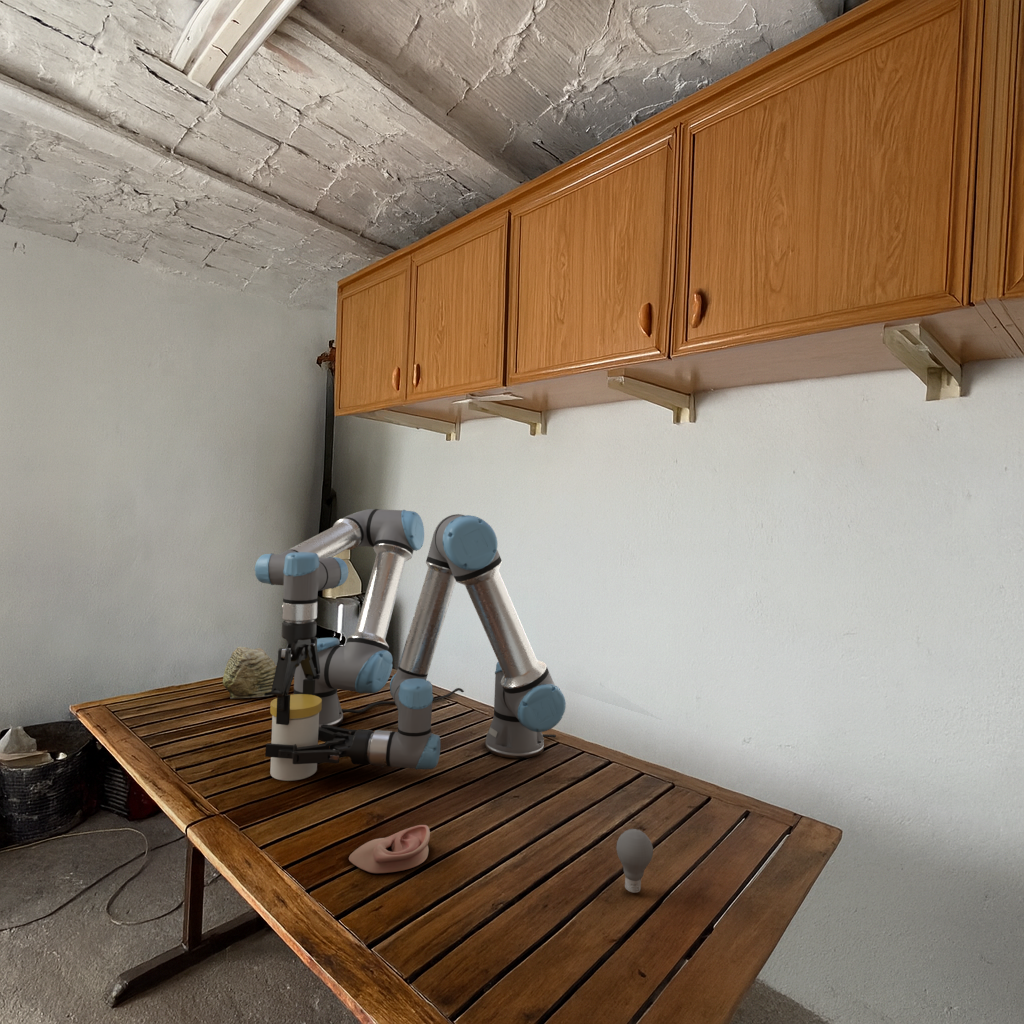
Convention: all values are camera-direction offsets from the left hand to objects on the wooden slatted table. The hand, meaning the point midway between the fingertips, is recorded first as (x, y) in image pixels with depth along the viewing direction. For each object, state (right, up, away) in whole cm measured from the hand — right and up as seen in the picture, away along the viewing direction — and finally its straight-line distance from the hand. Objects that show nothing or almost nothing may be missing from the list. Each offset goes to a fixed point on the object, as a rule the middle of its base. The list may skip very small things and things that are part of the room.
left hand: (295, 715), depth 145 cm
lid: (0, +3, 0) cm, 3 cm away
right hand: (-5, -6, 0) cm, 7 cm away
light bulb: (+70, -17, -40) cm, 82 cm away
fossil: (-31, -11, +53) cm, 62 cm away
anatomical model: (+28, -15, -33) cm, 45 cm away
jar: (-1, -13, 0) cm, 13 cm away
